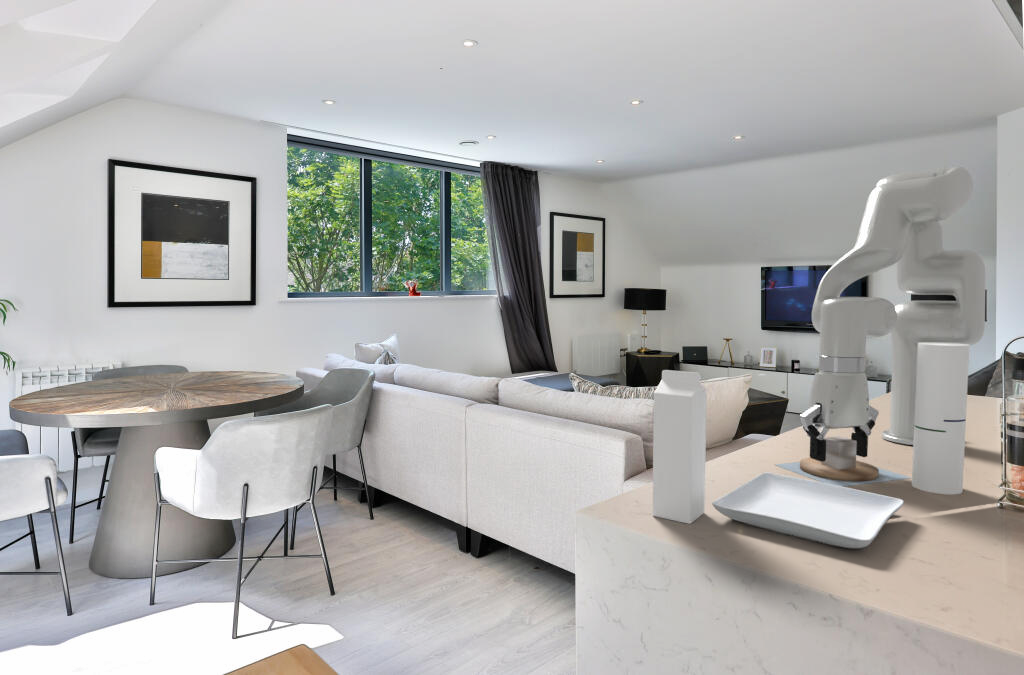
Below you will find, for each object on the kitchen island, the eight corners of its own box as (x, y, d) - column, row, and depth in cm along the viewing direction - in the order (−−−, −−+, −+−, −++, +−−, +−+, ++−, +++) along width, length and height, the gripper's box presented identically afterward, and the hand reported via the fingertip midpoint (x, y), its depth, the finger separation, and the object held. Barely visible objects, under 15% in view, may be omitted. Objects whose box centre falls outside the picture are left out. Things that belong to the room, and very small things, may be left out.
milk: (667, 505, 100) (669, 367, 99) (705, 513, 96) (707, 370, 95) (651, 516, 95) (653, 371, 94) (690, 524, 92) (692, 374, 90)
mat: (843, 459, 127) (843, 457, 127) (911, 480, 113) (911, 477, 112) (774, 467, 121) (774, 464, 121) (836, 490, 107) (836, 487, 107)
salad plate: (869, 565, 79) (870, 538, 78) (708, 523, 93) (709, 501, 93) (905, 520, 94) (906, 497, 94) (763, 490, 109) (763, 470, 108)
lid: (837, 459, 125) (838, 429, 125) (895, 477, 113) (897, 444, 112) (784, 465, 121) (785, 434, 121) (838, 484, 109) (839, 450, 108)
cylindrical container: (970, 498, 103) (978, 345, 101) (922, 495, 104) (928, 345, 102) (949, 485, 110) (956, 342, 108) (904, 482, 111) (910, 341, 109)
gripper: (861, 362, 122) (857, 449, 123) (788, 365, 116) (785, 456, 117) (895, 366, 115) (891, 458, 116) (819, 369, 109) (816, 466, 110)
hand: (838, 457), depth 117 cm, fingers open, 9 cm apart
